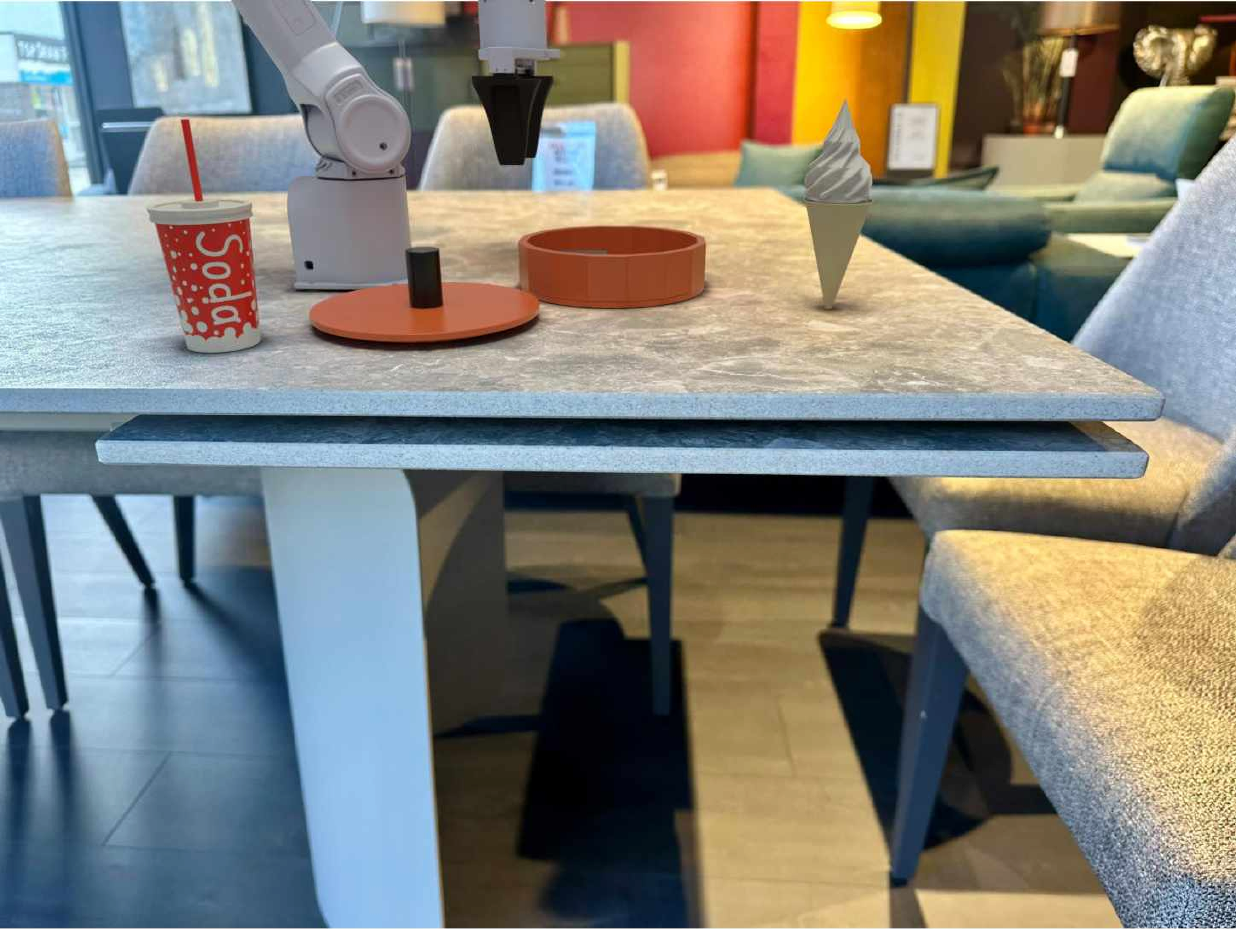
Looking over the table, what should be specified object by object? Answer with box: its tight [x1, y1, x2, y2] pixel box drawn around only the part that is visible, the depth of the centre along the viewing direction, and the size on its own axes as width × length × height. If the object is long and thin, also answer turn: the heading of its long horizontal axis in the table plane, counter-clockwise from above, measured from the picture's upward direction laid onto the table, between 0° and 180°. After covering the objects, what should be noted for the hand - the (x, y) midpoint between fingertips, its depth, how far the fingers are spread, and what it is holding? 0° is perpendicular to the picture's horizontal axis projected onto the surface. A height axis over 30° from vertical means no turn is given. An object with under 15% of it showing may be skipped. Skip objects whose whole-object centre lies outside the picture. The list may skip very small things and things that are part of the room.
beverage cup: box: [146, 118, 262, 354], centre depth 58 cm, size 6×6×14 cm
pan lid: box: [308, 246, 541, 344], centre depth 65 cm, size 16×16×5 cm
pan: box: [517, 224, 707, 309], centre depth 76 cm, size 15×15×4 cm
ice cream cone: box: [803, 98, 874, 310], centre depth 67 cm, size 5×5×15 cm
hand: (518, 161), depth 82 cm, fingers open, 7 cm apart
